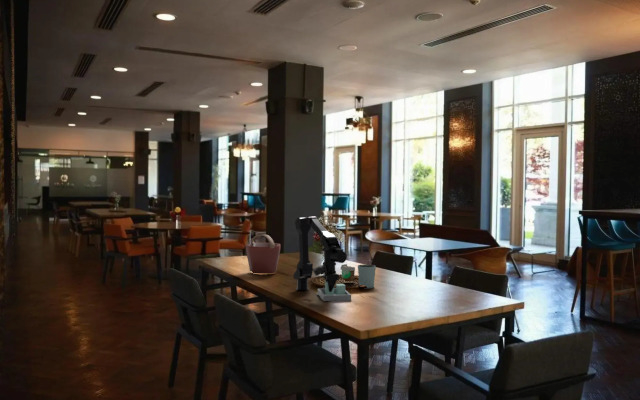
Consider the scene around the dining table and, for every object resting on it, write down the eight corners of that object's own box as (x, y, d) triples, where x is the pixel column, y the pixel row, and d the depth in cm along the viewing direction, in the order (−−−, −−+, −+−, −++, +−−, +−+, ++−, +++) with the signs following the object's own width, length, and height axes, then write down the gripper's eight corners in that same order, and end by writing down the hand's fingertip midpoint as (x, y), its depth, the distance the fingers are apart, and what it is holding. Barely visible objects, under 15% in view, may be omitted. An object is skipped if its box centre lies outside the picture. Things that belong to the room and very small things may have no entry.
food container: (337, 281, 304) (337, 264, 304) (346, 280, 306) (346, 264, 306) (345, 285, 293) (345, 267, 292) (355, 284, 295) (355, 267, 295)
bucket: (242, 271, 339) (242, 233, 338) (274, 268, 348) (274, 232, 347) (252, 277, 316) (252, 237, 315) (286, 274, 325) (286, 235, 324)
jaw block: (324, 293, 262) (324, 281, 262) (332, 293, 262) (332, 281, 262) (326, 294, 258) (326, 283, 258) (334, 294, 258) (334, 282, 258)
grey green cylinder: (354, 287, 286) (354, 266, 286) (361, 284, 295) (362, 263, 295) (371, 289, 282) (371, 267, 281) (378, 286, 291) (378, 265, 290)
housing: (317, 294, 268) (317, 282, 267) (343, 293, 270) (343, 281, 270) (323, 302, 251) (323, 288, 251) (351, 300, 253) (351, 287, 253)
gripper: (311, 258, 267) (310, 287, 268) (317, 263, 249) (317, 295, 249) (331, 257, 269) (331, 287, 270) (339, 263, 251) (339, 294, 251)
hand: (329, 290), depth 260 cm, fingers closed on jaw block, 4 cm apart
